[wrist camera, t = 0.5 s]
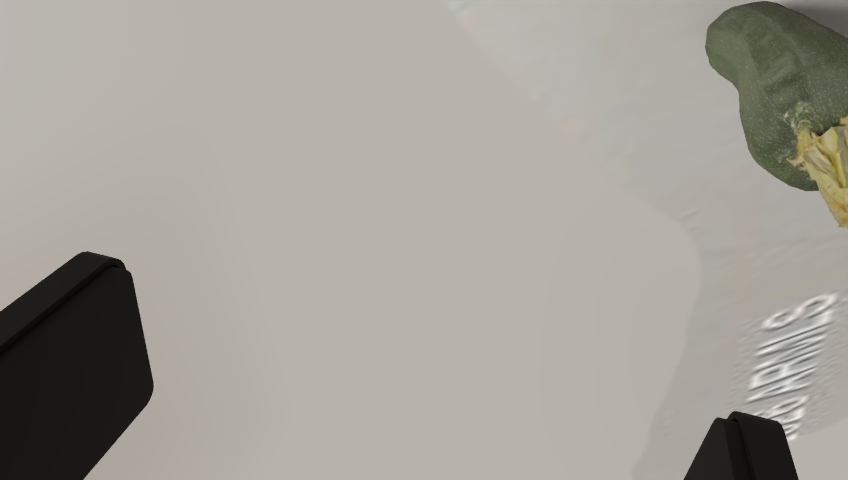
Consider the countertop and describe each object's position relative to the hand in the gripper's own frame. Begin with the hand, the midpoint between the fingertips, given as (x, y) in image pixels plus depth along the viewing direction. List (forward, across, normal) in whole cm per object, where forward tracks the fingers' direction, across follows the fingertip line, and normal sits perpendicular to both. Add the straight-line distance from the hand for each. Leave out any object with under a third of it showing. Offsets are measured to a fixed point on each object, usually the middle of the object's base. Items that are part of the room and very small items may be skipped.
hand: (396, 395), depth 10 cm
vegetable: (+29, -10, -1) cm, 30 cm away
